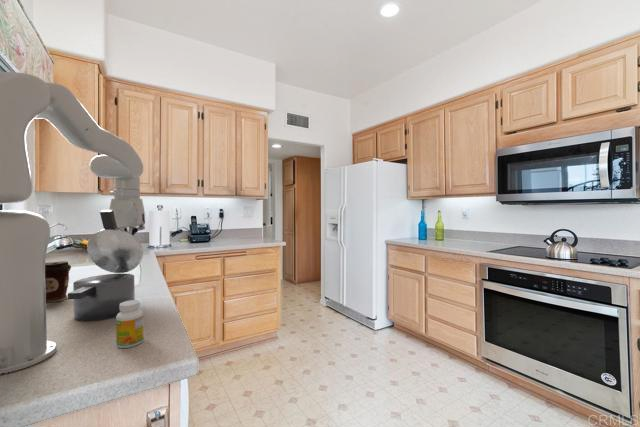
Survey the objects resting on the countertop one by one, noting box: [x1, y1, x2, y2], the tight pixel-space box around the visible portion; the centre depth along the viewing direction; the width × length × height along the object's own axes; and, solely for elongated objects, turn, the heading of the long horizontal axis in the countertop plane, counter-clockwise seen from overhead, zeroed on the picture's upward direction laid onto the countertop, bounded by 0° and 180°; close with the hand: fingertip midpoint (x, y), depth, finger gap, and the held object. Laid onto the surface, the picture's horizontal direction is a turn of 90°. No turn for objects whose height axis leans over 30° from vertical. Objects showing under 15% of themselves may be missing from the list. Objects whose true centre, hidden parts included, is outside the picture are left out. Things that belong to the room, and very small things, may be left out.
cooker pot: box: [67, 273, 136, 322], centre depth 87 cm, size 23×15×10 cm, turn 7°
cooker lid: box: [86, 209, 144, 274], centre depth 95 cm, size 22×16×3 cm
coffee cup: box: [45, 260, 72, 303], centre depth 100 cm, size 9×8×13 cm
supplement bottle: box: [115, 299, 144, 349], centre depth 69 cm, size 5×5×10 cm
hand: (128, 246), depth 103 cm, fingers closed
